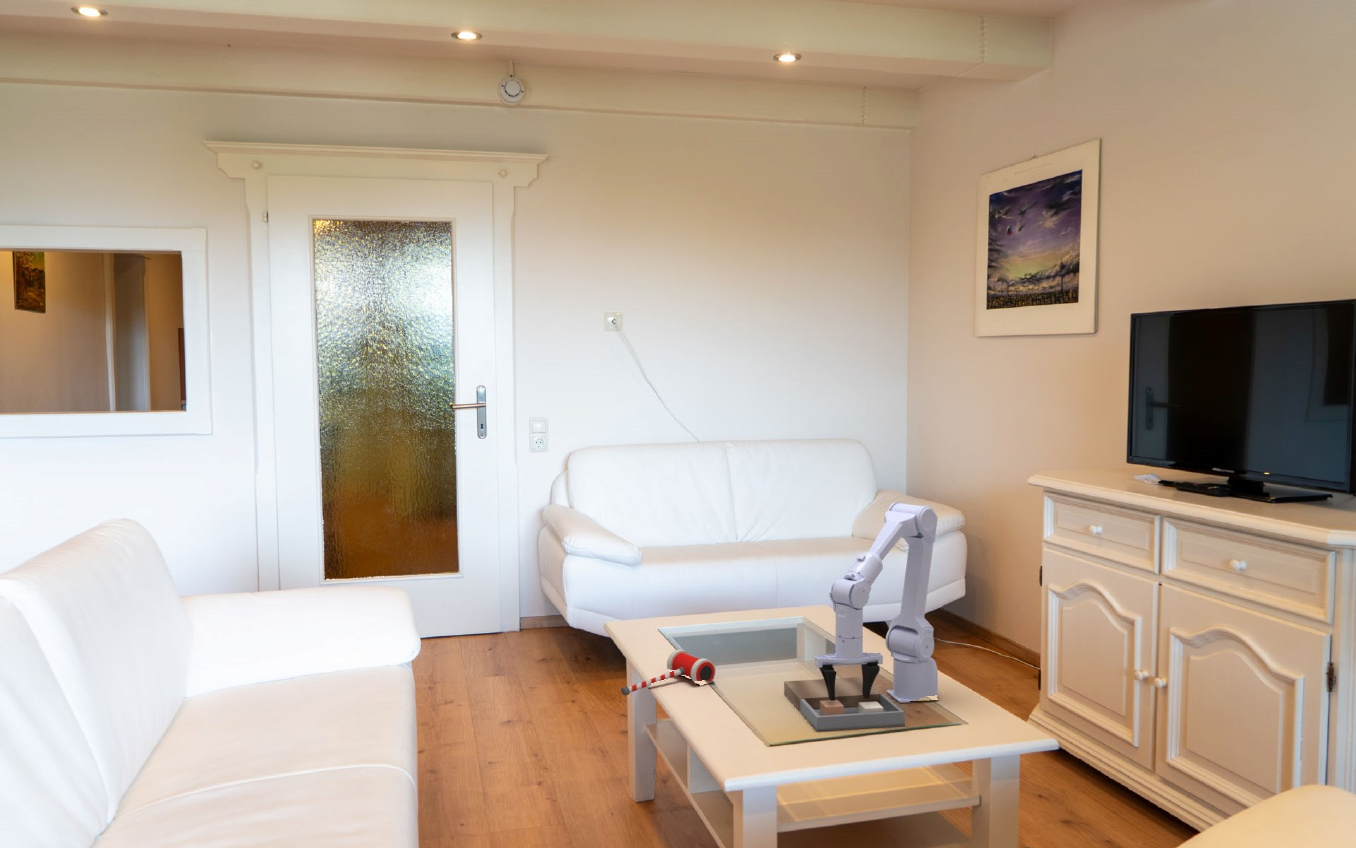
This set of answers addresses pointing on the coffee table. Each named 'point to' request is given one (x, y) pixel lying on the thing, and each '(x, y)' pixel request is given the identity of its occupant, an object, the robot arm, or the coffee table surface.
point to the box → (855, 717)
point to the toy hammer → (680, 670)
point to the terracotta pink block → (831, 708)
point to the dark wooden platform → (816, 691)
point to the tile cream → (870, 707)
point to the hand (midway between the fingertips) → (848, 698)
